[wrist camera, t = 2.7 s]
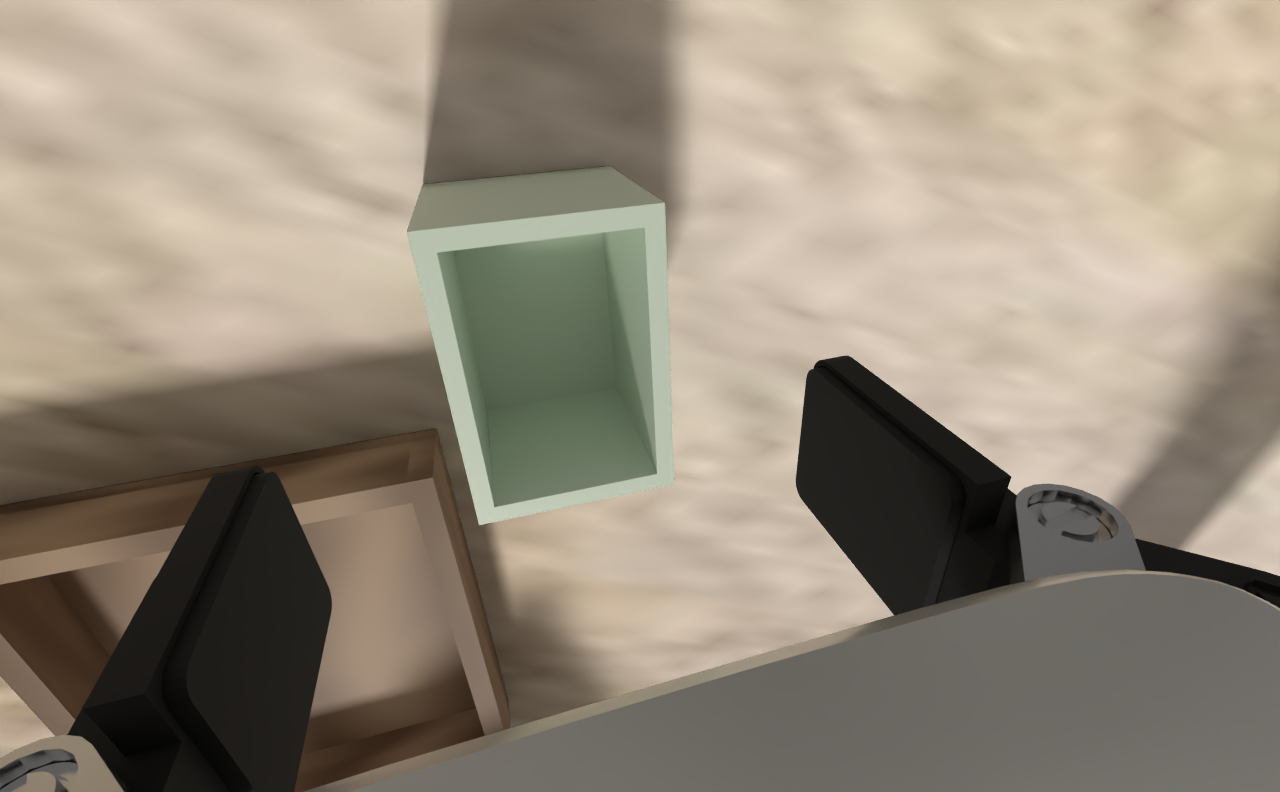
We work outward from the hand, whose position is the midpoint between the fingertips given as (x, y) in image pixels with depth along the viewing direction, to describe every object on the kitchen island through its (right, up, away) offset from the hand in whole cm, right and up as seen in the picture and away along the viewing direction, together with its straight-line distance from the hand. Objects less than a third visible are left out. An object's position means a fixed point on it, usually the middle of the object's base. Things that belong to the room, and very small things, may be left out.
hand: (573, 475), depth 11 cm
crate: (-12, -8, +13) cm, 19 cm away
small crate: (-2, +5, +9) cm, 11 cm away
